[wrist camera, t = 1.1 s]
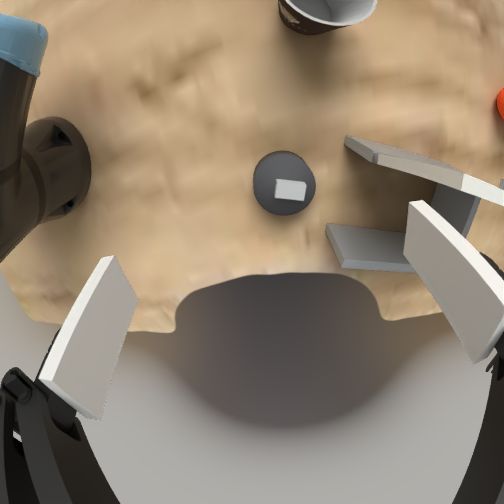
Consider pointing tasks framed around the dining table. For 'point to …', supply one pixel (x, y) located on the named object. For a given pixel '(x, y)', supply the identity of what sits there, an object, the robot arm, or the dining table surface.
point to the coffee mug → (323, 14)
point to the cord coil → (283, 183)
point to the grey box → (387, 242)
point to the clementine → (501, 103)
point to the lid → (446, 177)
